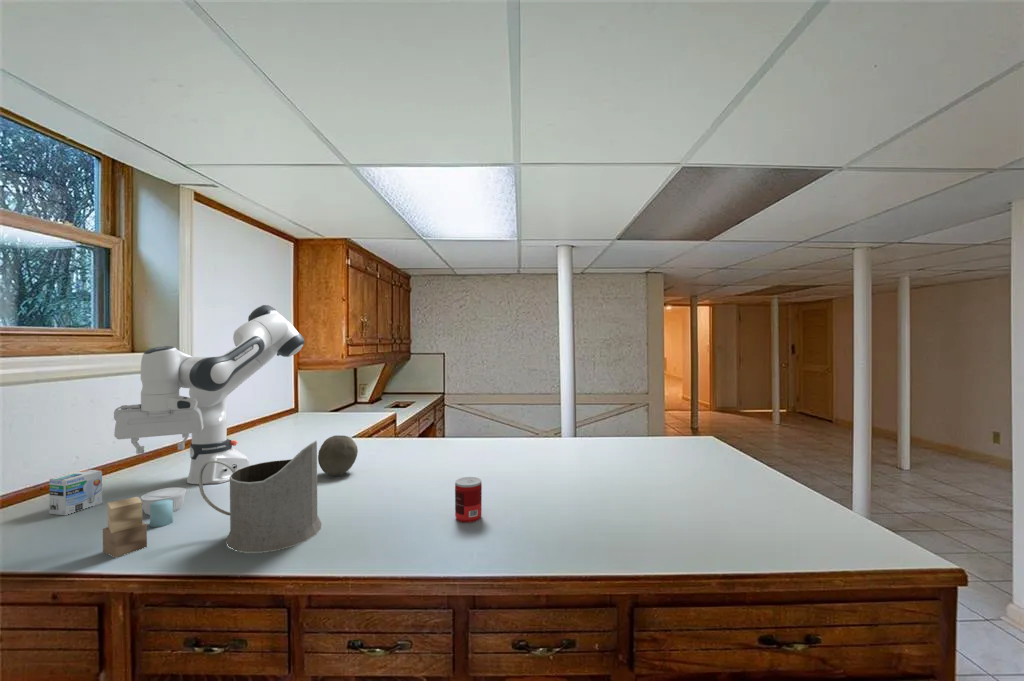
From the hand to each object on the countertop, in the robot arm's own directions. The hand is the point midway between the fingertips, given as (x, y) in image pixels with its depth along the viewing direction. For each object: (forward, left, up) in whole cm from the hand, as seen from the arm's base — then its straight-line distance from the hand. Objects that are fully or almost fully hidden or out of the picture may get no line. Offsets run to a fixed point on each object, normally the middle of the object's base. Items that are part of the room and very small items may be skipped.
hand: (161, 451), depth 132 cm
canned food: (-56, +68, -21) cm, 90 cm away
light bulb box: (+12, -35, -21) cm, 43 cm away
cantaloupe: (-57, -1, -21) cm, 61 cm away
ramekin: (-4, -12, -21) cm, 25 cm away
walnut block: (+11, +12, -21) cm, 26 cm away
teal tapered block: (0, 0, -21) cm, 21 cm away
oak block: (+11, +12, -15) cm, 22 cm away
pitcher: (-14, +29, -21) cm, 39 cm away
